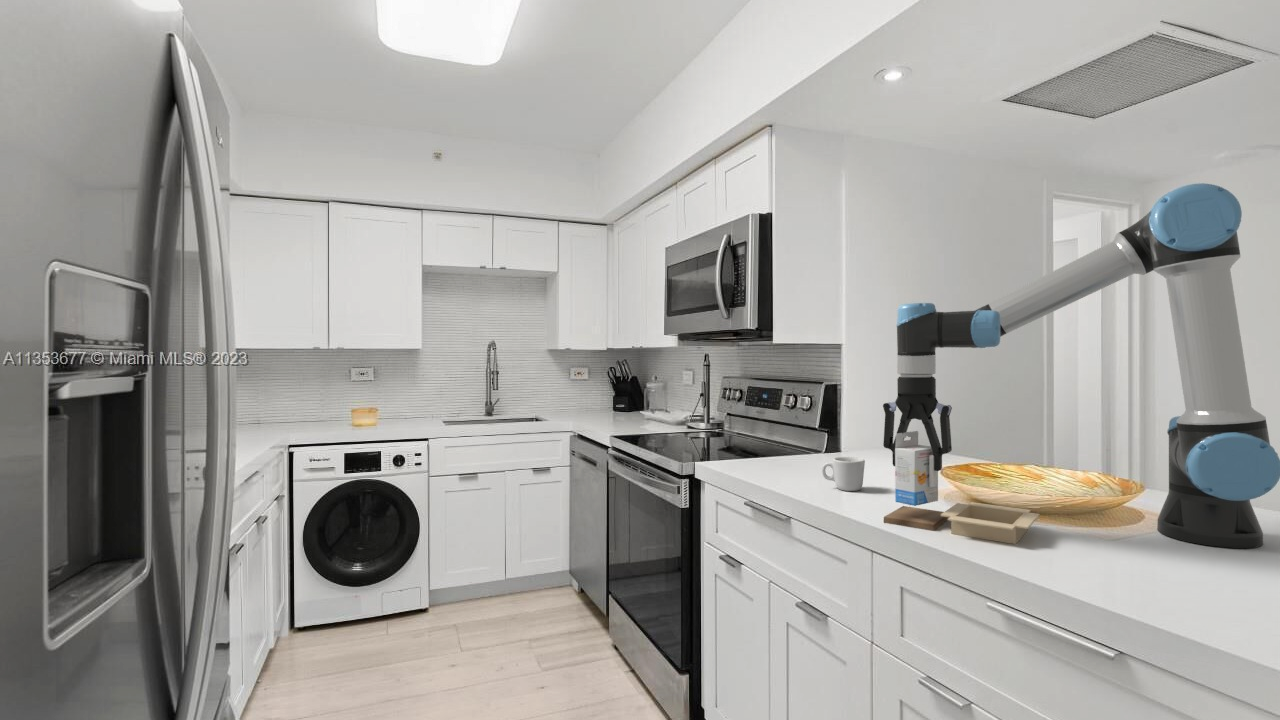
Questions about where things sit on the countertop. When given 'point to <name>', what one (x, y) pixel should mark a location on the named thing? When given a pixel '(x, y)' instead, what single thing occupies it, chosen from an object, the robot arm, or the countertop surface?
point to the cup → (846, 472)
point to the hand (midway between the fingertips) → (916, 483)
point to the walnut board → (916, 518)
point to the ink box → (913, 471)
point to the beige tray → (990, 521)
